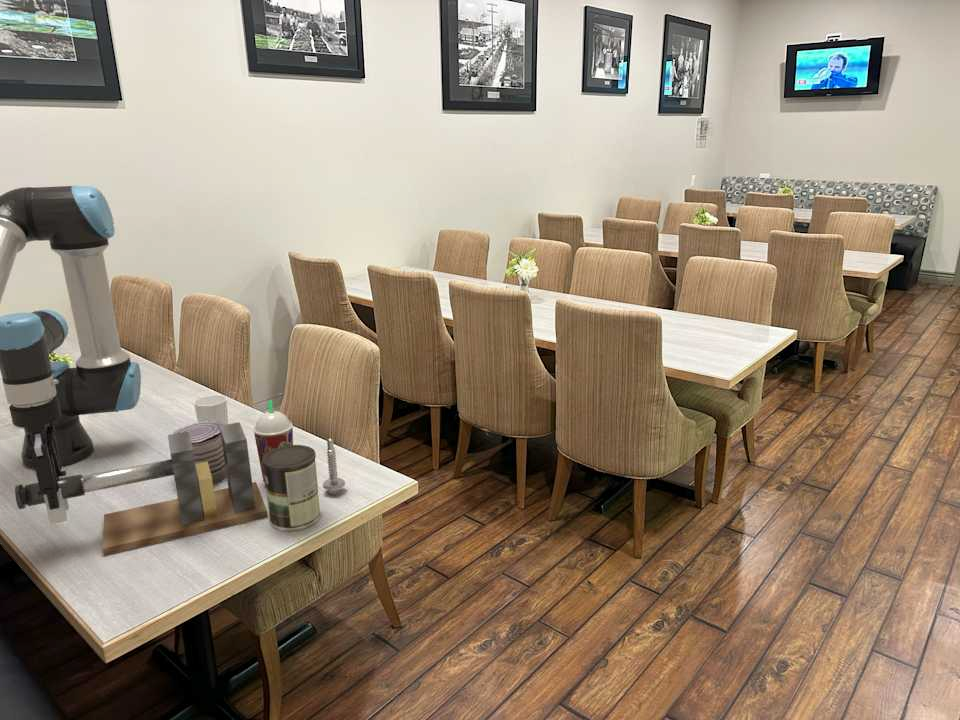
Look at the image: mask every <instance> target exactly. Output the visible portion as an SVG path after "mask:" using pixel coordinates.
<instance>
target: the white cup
mask: <svg viewBox="0 0 960 720" xmlns="http://www.w3.org/2000/svg"><path fill="white" fill-rule="evenodd" d="M193 405H194V411H195V416H196V420H197V422H205V421H213V420H215V421H217V422H219V423H222V424H224V425H227V424H229V417H228V403H227V397H226V396H224V395H222V394H220V395H219V394H212V395H205V396H201V397H199V398H197V399H195V400H194V402H193Z"/></svg>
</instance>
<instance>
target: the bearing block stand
mask: <svg viewBox="0 0 960 720" xmlns="http://www.w3.org/2000/svg"><path fill="white" fill-rule="evenodd" d="M220 433H221V440H222V447H223V454H224V461H225V468H226V475H227V478H226V481H227V487H225V488H221V489H216V490H214V495H215V501H216V508H217V515H216V516H212V517H208V518H204V514H203V509H202V505H201V499H200V492H199V486H198V479H197V473H196V466H195V460H194V453H193V448H192V443H191V439H190V434H189V431H187V432H182V433H176V434H173V433H172V434H167V441H168V446H169V453H170V459H171V460H172V466H173V472H174V475H173V476H174V483H175V489H176V496H177V498H174V499H171V500H165V501H160V502H156V503H151V504H148V505H147V504H146V505H141V506H136V507H133V508H128V509H123V510H118V511H114V512H109V513H105V514H103V527H102V528H103V529H102V547H101V550H102V555H103V556H105V557H106V556H108V555H113V554H119V553H122V552H126V551H130V550H135V549H138V548H139V549H140V548H142V547H147V546H150V545H151V546H152V545H155V544H159V543H163V542H168V541H172V540H176V539H181V538H184V537H190V536H193V535H197V534H201V533H205V532H206V533H207V532H211V531H215V530H219V529H224V528H227V527H230V526H232V527H233V526H235V525H238V524H244V523H247V522H252V521H256V520H261V519H265V518H269V512H268V509H267V506H266V504H265V502H264V499H263V496H262V494H261V492H260V489H259V487H258V484H257V482H256V481H254V482H253V479H252V470H251V464H250V463H251V461H250V455H249V449H248V447H249V446H248V440H247V437H246V434H245V432H244V430H243V428H242V424H241V422H239V421H238V422H233V423H228V424H227V425H221V426H220Z"/></svg>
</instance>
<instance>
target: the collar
mask: <svg viewBox="0 0 960 720" xmlns="http://www.w3.org/2000/svg"><path fill="white" fill-rule="evenodd" d="M195 466H196V473H197V479H198V486H199V492H200V499H201V505H202V509H203V514H204V518H208V517H212V516H216V515H217V508H216V501H215V495H214V491H215V489H214V485H213V481H212V476H211V472H210V468H209V465H208V461H207V462H202V463H197V464H195Z"/></svg>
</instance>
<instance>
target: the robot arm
mask: <svg viewBox="0 0 960 720" xmlns="http://www.w3.org/2000/svg"><path fill="white" fill-rule="evenodd" d="M114 224H115V222H114V217H113V215H112V211H111V208H110V205H109V203H108V201H107V199H106V197H105V196H104V194H103V192H102V191H101V190H99V188H97V187H94V186H89V185H87V186H85V185H61V186H59V185H58V186H39V187H37V186H36V187H29V186H28V187H25V186H24V187H17V188H15V189H12V190H9V191H7V192H5V193H3V194H1V195H0V303H1V302H2V299H3V296H4V293H5V291H6V288H7V283H8V281H9V278H10V275H11V271H12V270H13V266H14V263H15V261H16V256H17V254H18V253H19V252H22V251H23V250H24V248H25V247H26V244H27V243H30V242H34V241H49V247H50V250H52V251H53V252H54V253H56V254H57V255H58V256H60V257H59V258H60V260H61V264H62V265H61V266H62V269H63V274H64V280H65V284H66V288H67V294H68V298H69V302H70V308H71V312H72V317H73V323H74V327H75V333H76V336H77V341H78V345H79V351H80V356H79V357H78V359H76V361H75V367H70V364H69V363H68V362H67V361H64V360H62V361H61V360H56V361H51V359H50V355H51V354H52V353H53V352H54V351H55V350H57V349H58V348H60V347H61V346H62V345H63V343H64V342H65V340H66V338H67V337H68V334H69V326H68V323H67V320H66V319H65V317H63V315H61V314H60V313H59V312H57V311H54V310H52V309H39V310H34V311H33V312H18V313H10V314H9V313H8V314H6V315H4V314H3V315H2V316H0V374H1V380H2V386H3V390H4V393H5V397H6V398H5V399H6V401H7V404H9V405H10V406H9V408H8V409H9V412H10V416H11V417H10V418H11V423H12V424H13V425H14V427H17V428H20V429H21V428H22V429H23V430H24V437H23V444H22V451H21V459H22V465H23V464H24V465H25V466H26V467H25V466H24V465H23V466H24V467H25V468H27V467H29V468H28V469H30V468H34V469H33V470H34V471H35V474H36V479H37V483H38V484H39V488H40V491H38V495H44V500H45V503H44V504H45V507H46V512H47V516H48V520H49V525H54V524H59V523H64V522H67V521H68V516H67V511H68V510H69V509H70V507H69V505H70V504H69V501H68V499H63V497H62V493H61V488H59V486H58V481H57V479H59V478H62V477H67V470H63V467H67V466H70V465H73V464H76V463H79V462H80V460H81V461H83V460H85V459H87V458H88V457H89V456H90V455H92V454H93V452H94V450H95V448H94V443H93V440H92V438H91V437H90V435H89V434H88V432H87V430H86V429H85V428H84V426H83V424H82V423H81V420H80V416H84V415H93V414H104V413H113V412H114V413H118V412H122V411H128V410H133V409H134V408H135V407H137V406H138V403H139V400H140V396H141V388H142V385H141V384H142V376H141V375H142V372H141V367H140V364H139V363H138V362H135V361H131V358H130V357H131V356H130V354H129V353H128V352H126V351H124V350H123V349H122V347H121V342H120V337H119V331H118V325H117V321H116V320H117V319H116V316H115V310H114V305H113V304H114V303H113V299H112V294H111V290H110V289H111V288H110V283H109V279H108V273H107V268H106V267H107V266H106V261H105V256H104V252H105V250H106V249H107V248H108V247H109V245H110V244H109V239H111V238H113V237H114V235H115V225H114ZM75 462H76V463H75ZM69 464H70V465H69ZM66 465H67V466H66ZM62 466H63V467H62Z"/></svg>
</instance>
